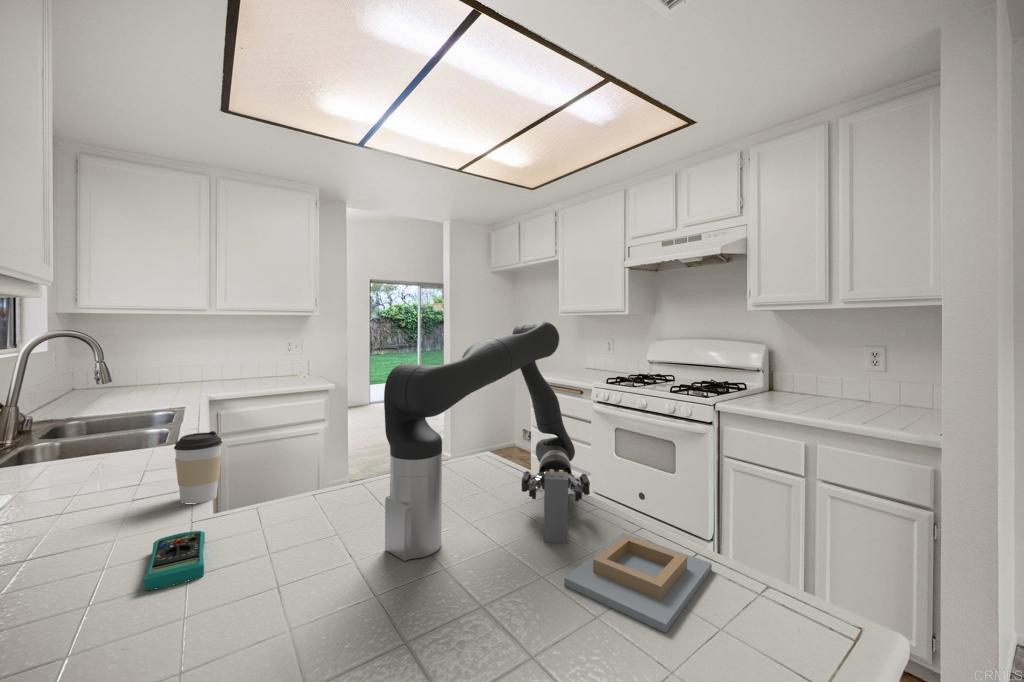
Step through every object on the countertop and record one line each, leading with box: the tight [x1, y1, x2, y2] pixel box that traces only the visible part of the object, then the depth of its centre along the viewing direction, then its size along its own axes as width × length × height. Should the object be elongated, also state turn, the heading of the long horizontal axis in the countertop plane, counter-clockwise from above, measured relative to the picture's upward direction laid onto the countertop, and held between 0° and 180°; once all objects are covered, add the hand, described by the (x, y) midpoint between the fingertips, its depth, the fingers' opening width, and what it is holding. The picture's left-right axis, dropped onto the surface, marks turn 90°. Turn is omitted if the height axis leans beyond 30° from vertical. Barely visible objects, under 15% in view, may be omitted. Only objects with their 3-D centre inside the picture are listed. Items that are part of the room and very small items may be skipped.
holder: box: [563, 532, 713, 634], centre depth 69 cm, size 20×16×3 cm
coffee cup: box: [173, 430, 223, 504], centre depth 99 cm, size 9×9×15 cm
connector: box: [543, 470, 569, 544], centre depth 82 cm, size 4×4×13 cm
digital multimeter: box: [143, 530, 206, 592], centre depth 72 cm, size 7×15×3 cm, turn 35°
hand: (555, 495), depth 85 cm, fingers open, 8 cm apart
